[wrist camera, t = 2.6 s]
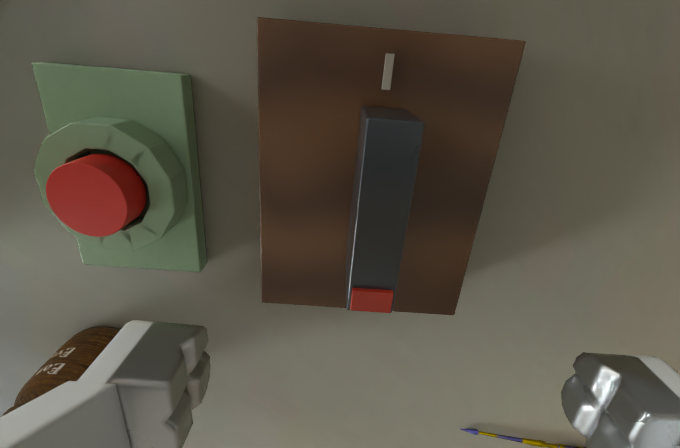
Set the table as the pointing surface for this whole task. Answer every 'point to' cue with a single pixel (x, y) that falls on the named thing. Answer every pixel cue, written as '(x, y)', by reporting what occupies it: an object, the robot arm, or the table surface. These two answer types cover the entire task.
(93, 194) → the button
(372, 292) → the tap lever
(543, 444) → the pen
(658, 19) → the table surface
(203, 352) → the robot arm
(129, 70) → the button block
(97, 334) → the utensil holder
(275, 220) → the brown lever switch
